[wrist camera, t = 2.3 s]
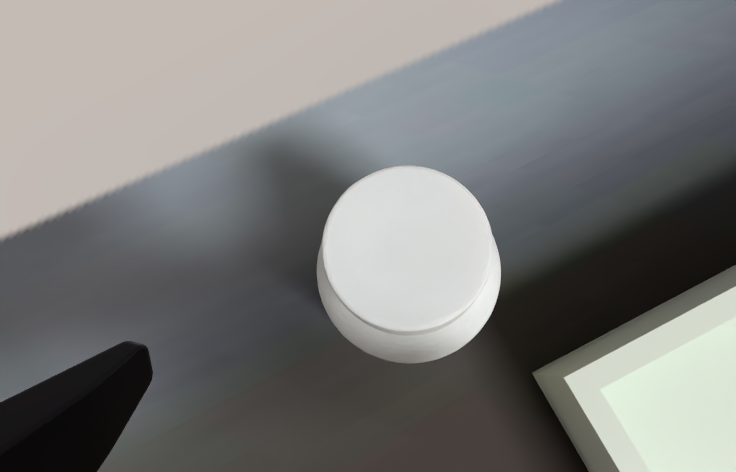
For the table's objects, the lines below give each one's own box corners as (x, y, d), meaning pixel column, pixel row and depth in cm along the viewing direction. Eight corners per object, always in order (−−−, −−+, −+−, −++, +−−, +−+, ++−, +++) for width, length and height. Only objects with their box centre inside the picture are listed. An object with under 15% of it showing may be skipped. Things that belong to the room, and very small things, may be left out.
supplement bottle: (478, 356, 19) (545, 358, 10) (350, 366, 19) (295, 376, 10) (462, 231, 20) (507, 127, 11) (342, 242, 21) (288, 150, 11)
